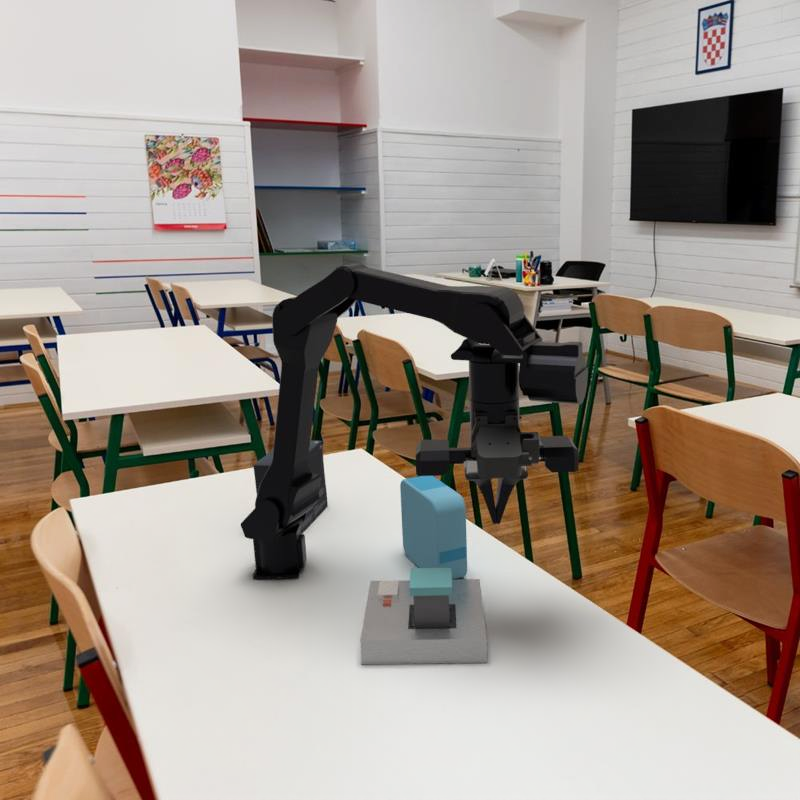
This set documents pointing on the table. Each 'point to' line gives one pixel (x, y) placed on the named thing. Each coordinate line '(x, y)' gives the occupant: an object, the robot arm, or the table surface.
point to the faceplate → (399, 644)
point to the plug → (431, 597)
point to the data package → (434, 525)
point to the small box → (317, 468)
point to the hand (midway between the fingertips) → (496, 522)
